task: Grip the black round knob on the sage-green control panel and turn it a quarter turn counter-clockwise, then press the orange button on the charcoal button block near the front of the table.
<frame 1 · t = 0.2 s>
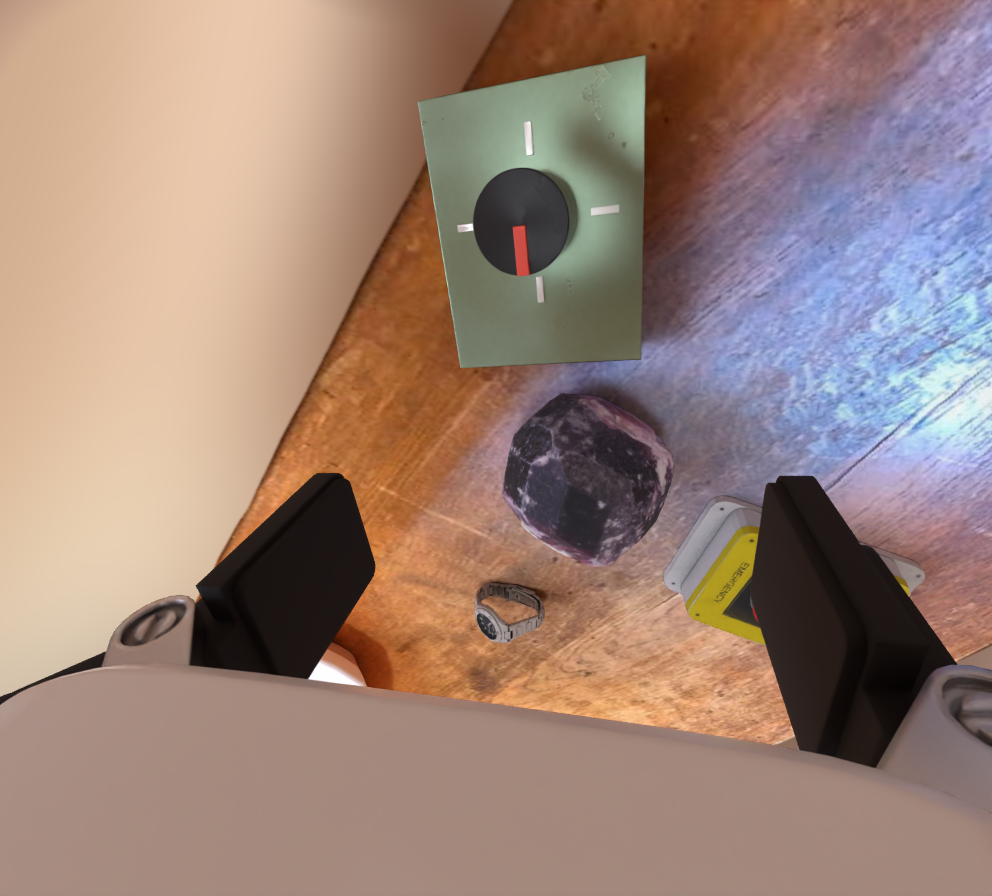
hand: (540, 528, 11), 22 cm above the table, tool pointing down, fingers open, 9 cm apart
knob: (527, 221, 23), point 5 cm above the table, hinge at 0.0°
wristwatch: (513, 590, 43), on the table
emergency button: (781, 571, 35), on the table
panel: (544, 234, 28), on the table
mineral specimen: (586, 442, 34), on the table
bowl: (310, 663, 56), on the table
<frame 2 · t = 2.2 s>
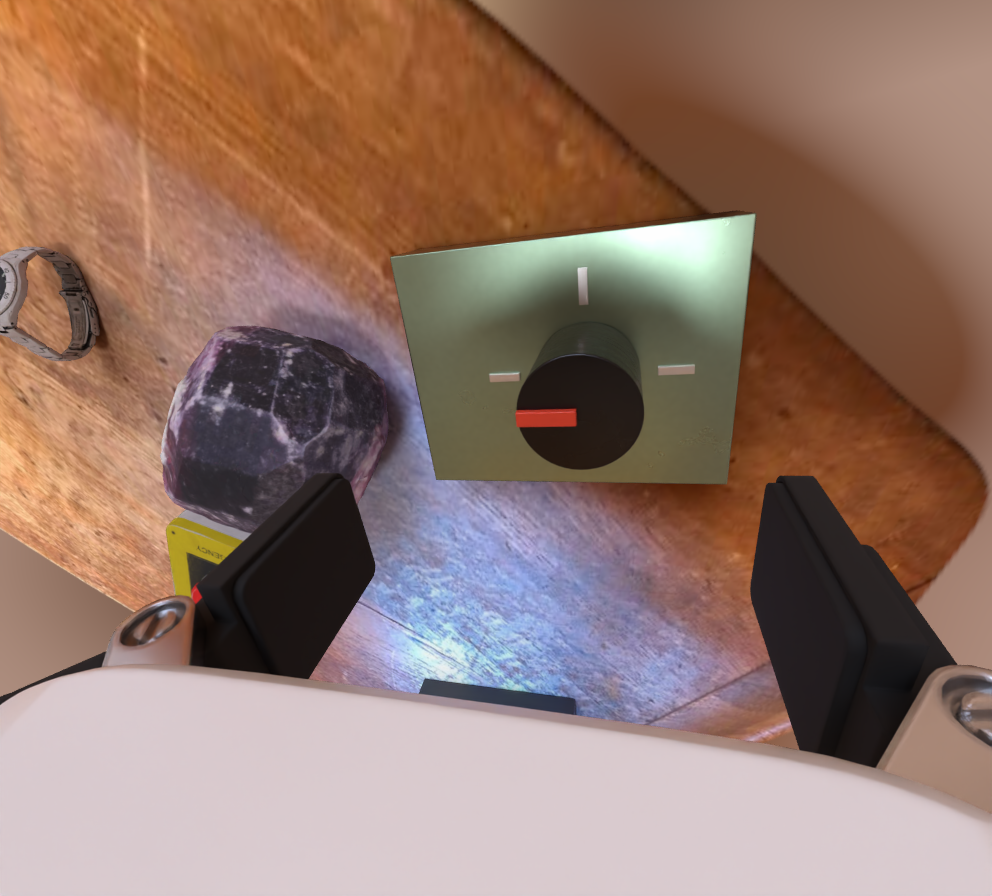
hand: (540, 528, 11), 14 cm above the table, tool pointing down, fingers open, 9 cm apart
knob: (582, 393, 18), point 5 cm above the table, hinge at 0.0°
wristwatch: (83, 299, 29), on the table
emergency button: (258, 571, 37), on the table
panel: (569, 354, 23), on the table
mineral specimen: (332, 399, 28), on the table
button block: (503, 728, 39), on the table
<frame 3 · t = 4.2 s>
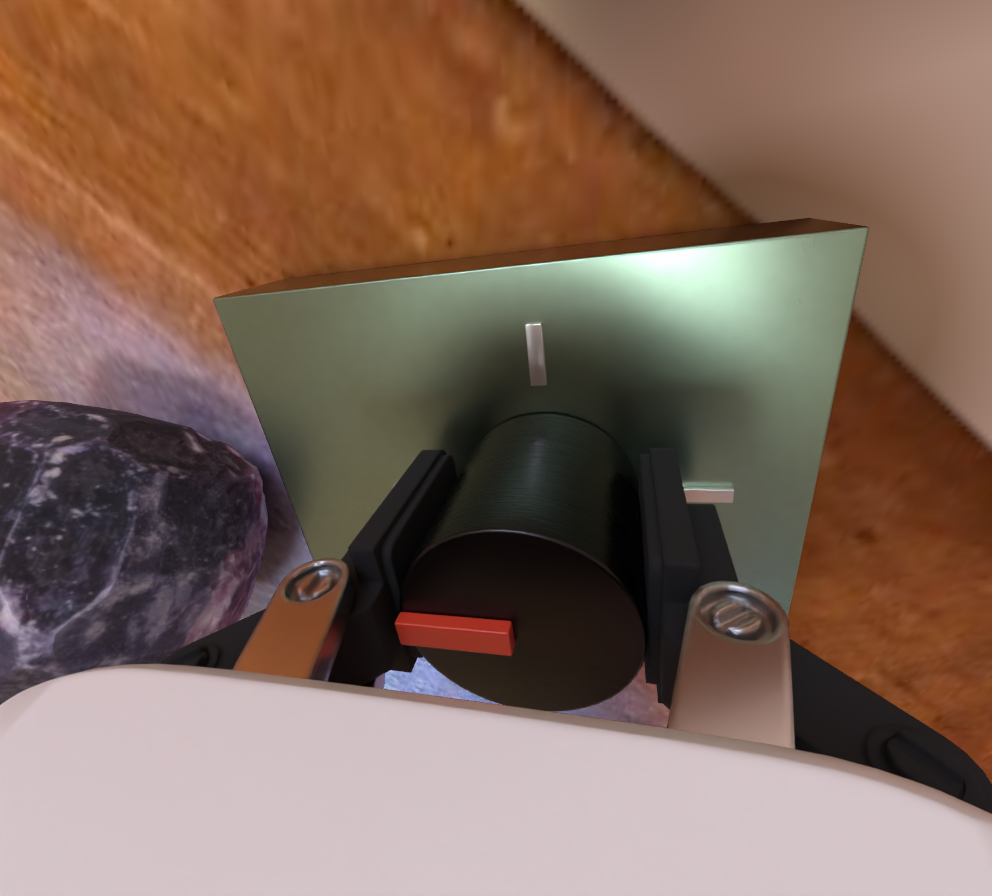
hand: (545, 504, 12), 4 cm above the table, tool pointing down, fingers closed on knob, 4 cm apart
knob: (534, 552, 10), point 5 cm above the table, hinge at 0.1°, touching gripper
panel: (529, 438, 15), on the table
mineral specimen: (202, 483, 20), on the table
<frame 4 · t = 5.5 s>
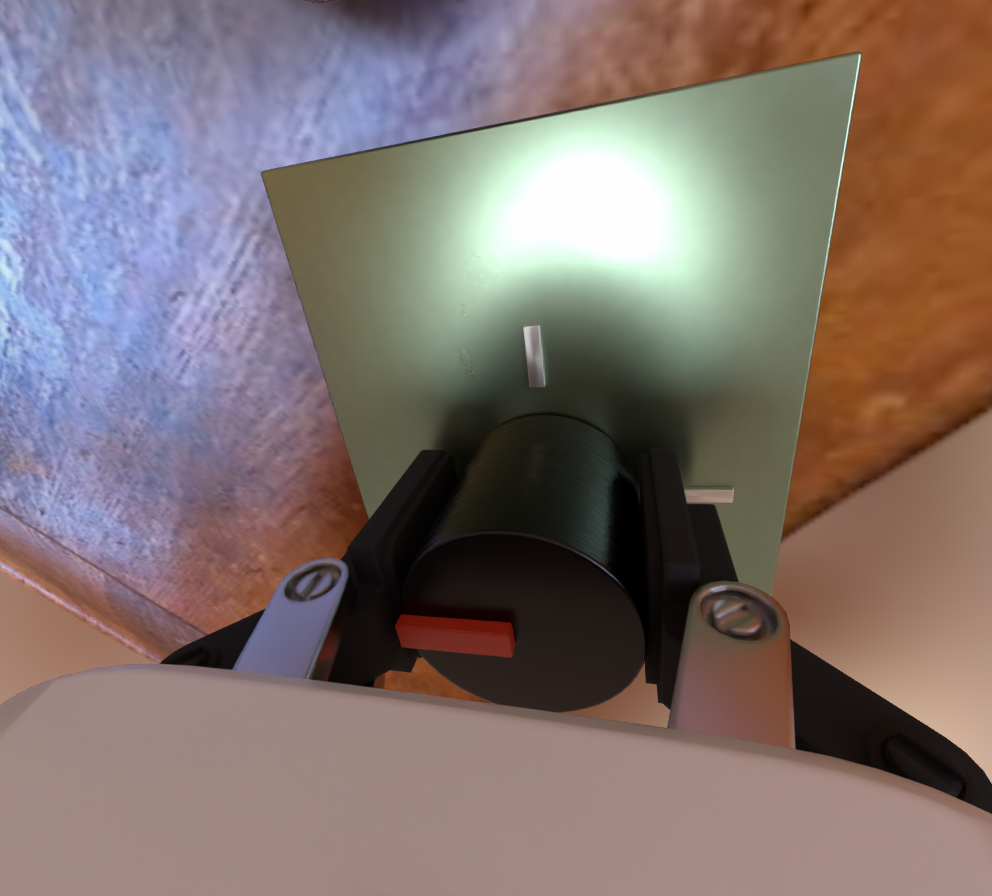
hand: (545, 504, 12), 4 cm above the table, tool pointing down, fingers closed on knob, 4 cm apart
knob: (534, 554, 10), point 5 cm above the table, hinge at 90.4°, touching gripper
panel: (558, 409, 14), on the table
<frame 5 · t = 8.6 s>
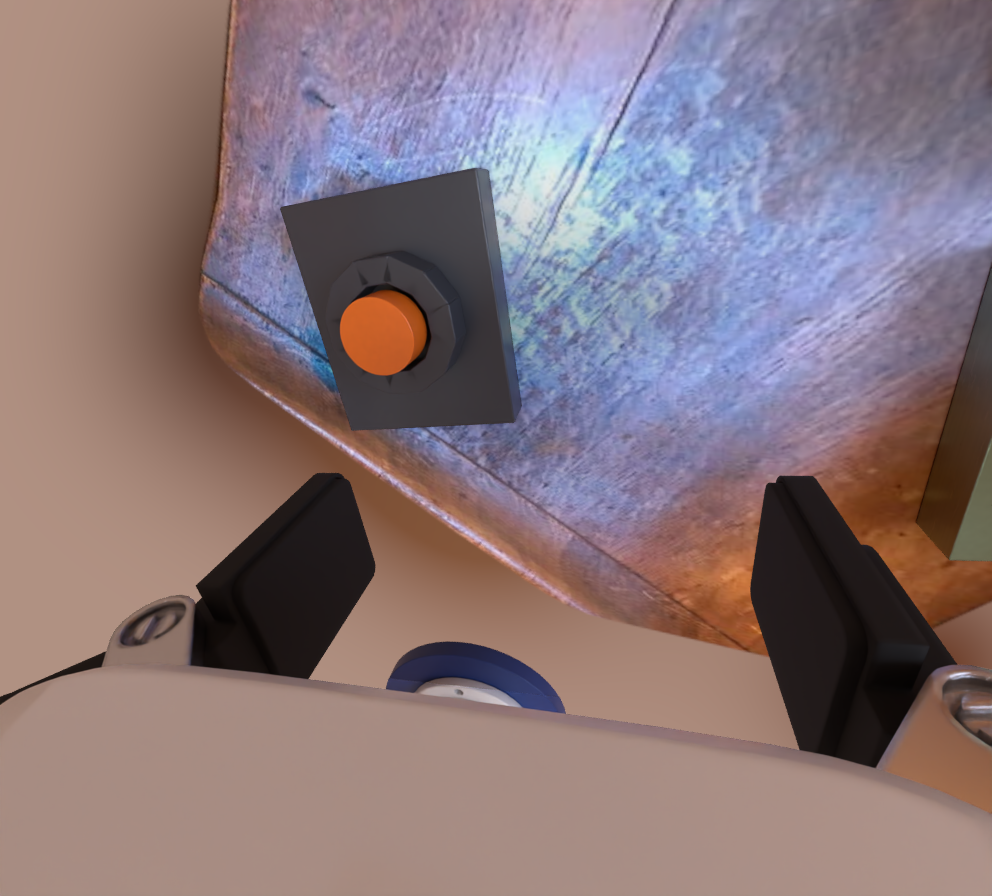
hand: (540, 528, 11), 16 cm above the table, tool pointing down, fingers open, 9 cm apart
button: (384, 332, 22), point 4 cm above the table, slide at 0.1 cm
button block: (419, 311, 26), on the table
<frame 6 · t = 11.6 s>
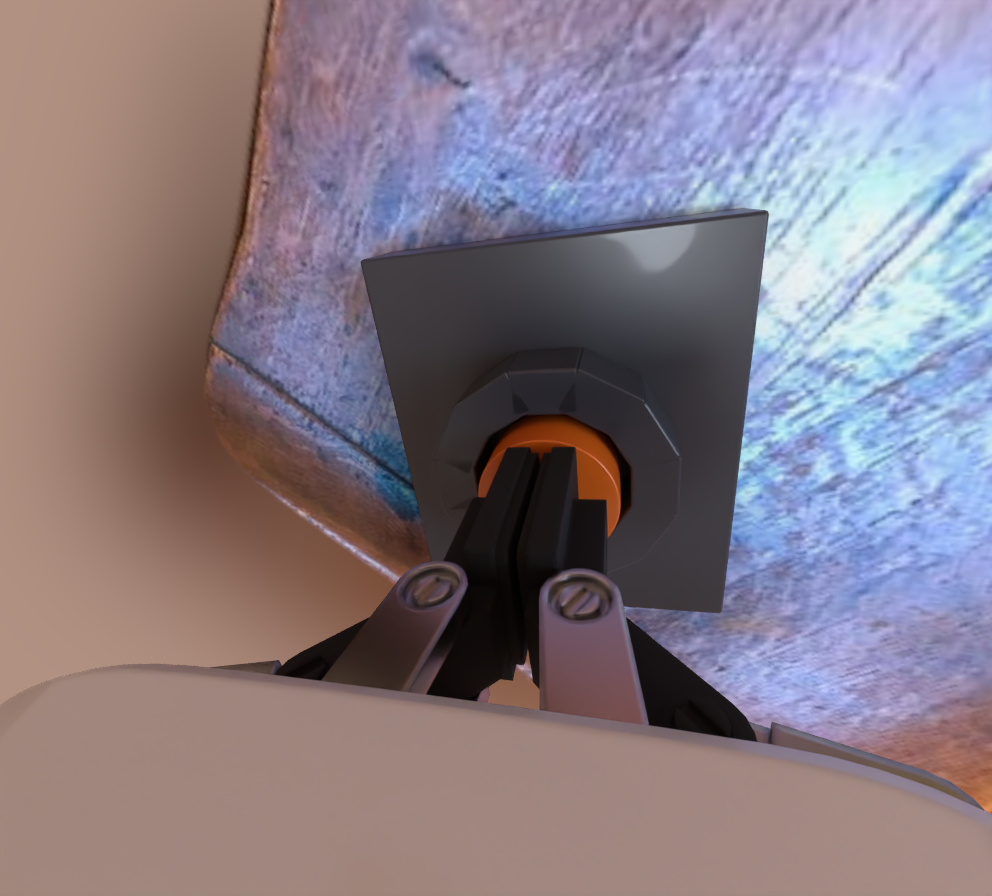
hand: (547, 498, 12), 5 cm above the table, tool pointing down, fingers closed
button: (551, 485, 13), point 4 cm above the table, slide at -0.4 cm, touching gripper
button block: (565, 424, 16), on the table
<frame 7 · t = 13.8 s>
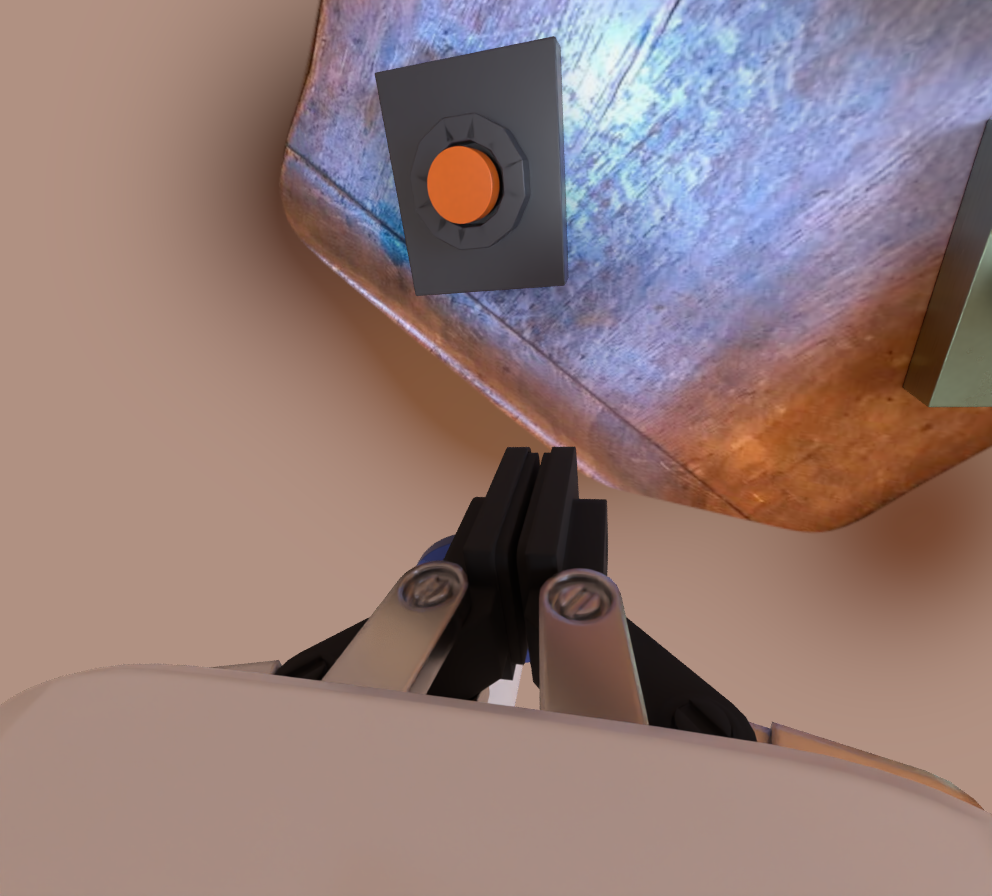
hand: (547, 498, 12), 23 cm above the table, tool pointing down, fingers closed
button: (463, 186, 26), point 4 cm above the table, slide at 0.1 cm
button block: (484, 184, 29), on the table
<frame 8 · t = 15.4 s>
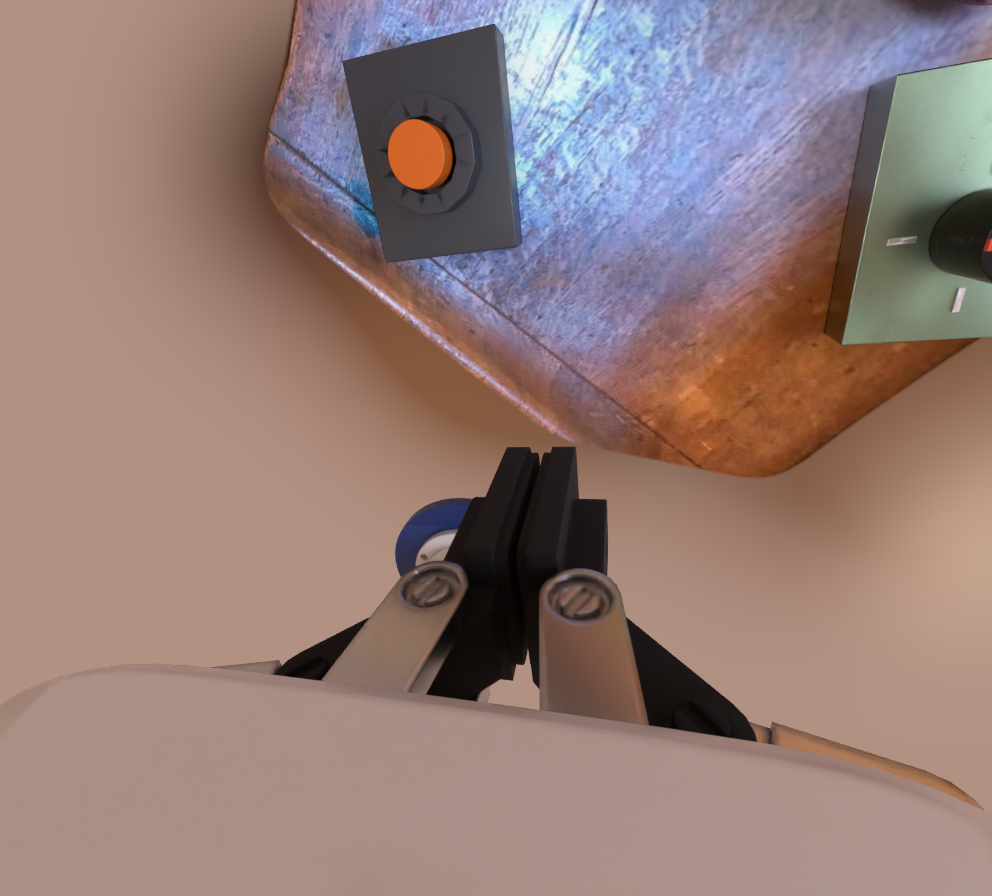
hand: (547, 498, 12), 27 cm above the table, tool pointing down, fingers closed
panel: (950, 210, 28), on the table
button: (420, 156, 29), point 4 cm above the table, slide at 0.1 cm
button block: (443, 160, 33), on the table
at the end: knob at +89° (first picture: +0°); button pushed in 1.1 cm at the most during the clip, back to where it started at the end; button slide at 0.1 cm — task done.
